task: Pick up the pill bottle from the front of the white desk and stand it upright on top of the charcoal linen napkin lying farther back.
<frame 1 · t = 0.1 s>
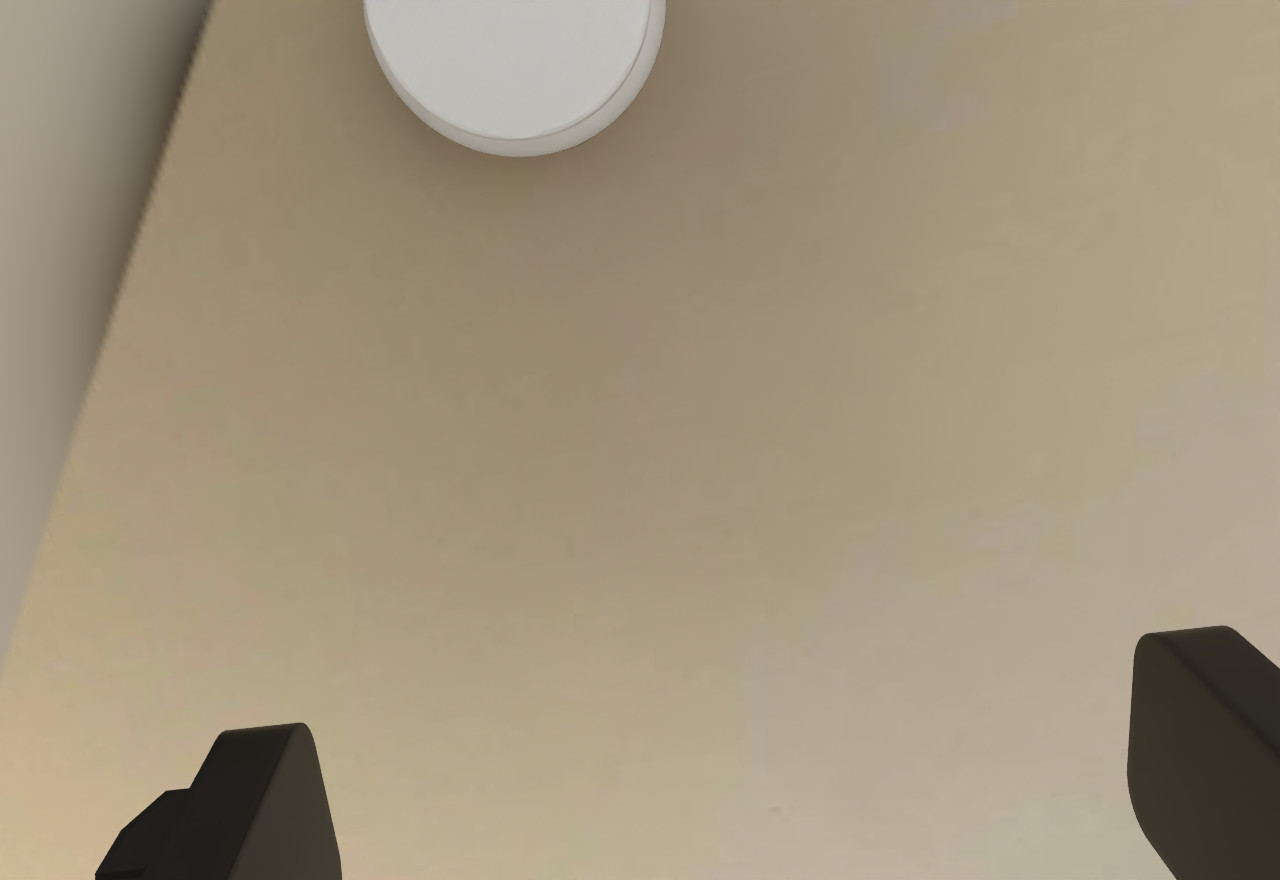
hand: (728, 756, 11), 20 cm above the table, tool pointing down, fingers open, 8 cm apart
pill bottle: (530, 18, 27), on the table
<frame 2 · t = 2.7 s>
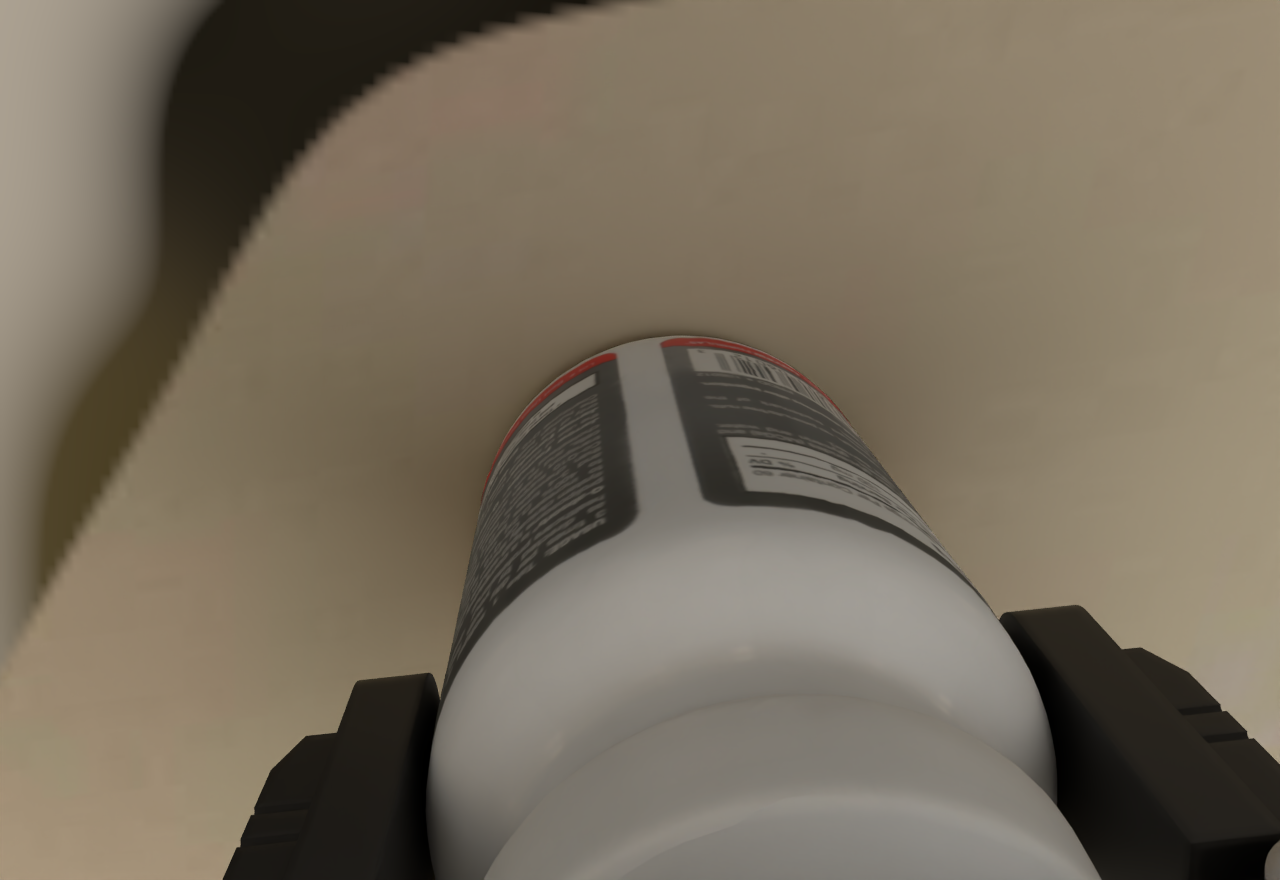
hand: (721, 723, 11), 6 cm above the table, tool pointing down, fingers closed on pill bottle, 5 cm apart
pill bottle: (676, 506, 17), on the table, touching gripper
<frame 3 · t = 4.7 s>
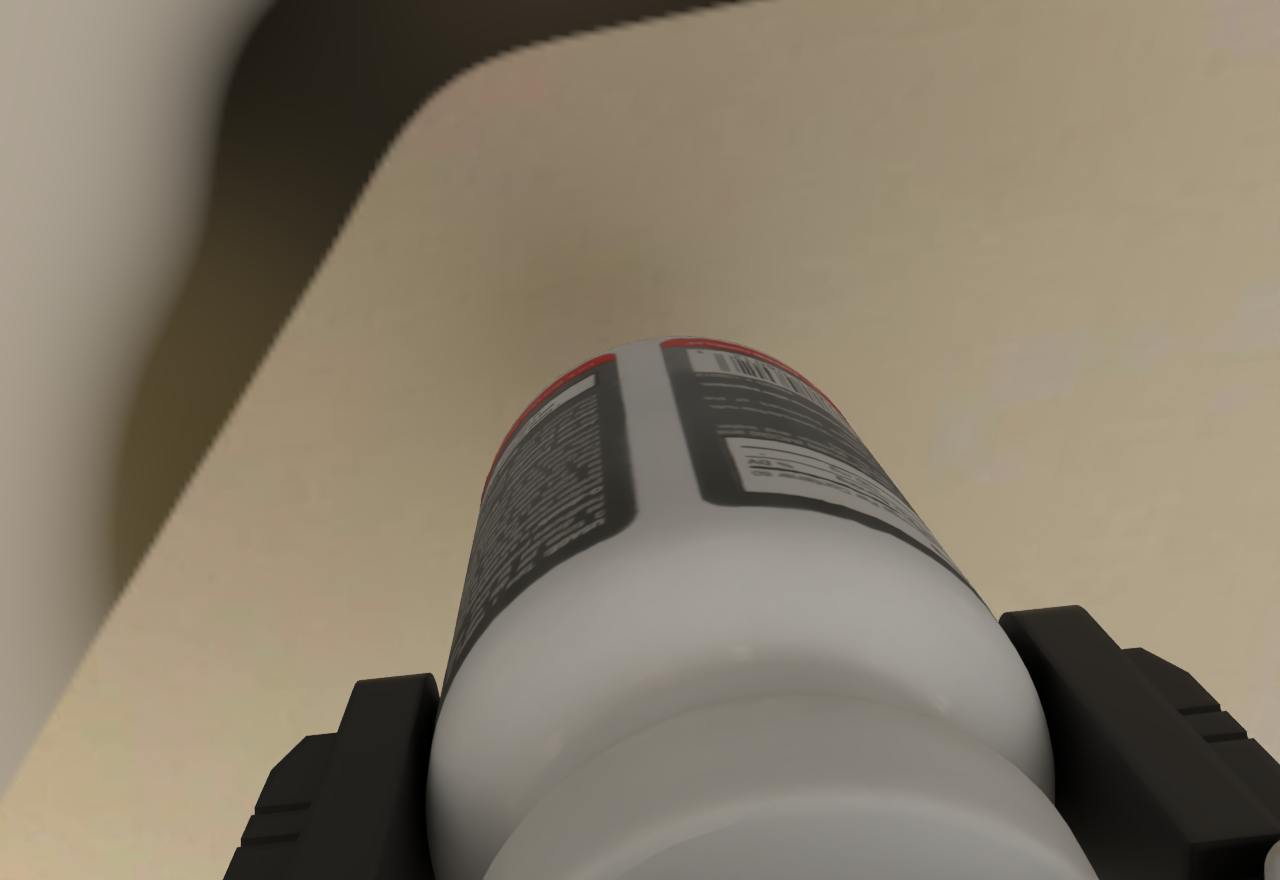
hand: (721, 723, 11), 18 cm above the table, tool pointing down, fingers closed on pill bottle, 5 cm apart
pill bottle: (675, 506, 17), point 12 cm above the table, touching gripper
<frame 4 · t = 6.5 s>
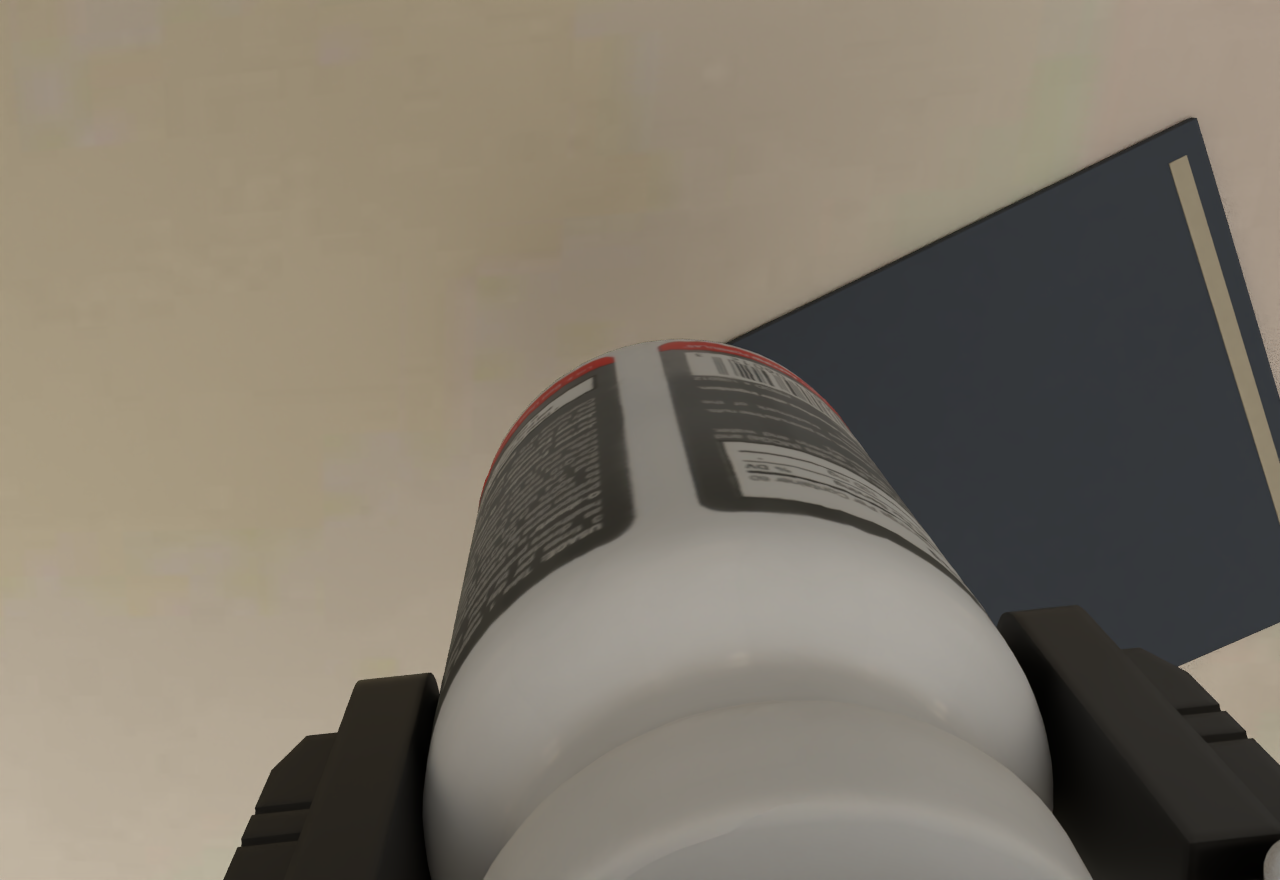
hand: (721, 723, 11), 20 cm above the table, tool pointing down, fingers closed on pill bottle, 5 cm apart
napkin: (1011, 491, 33), on the table
pill bottle: (673, 509, 17), point 14 cm above the table, touching gripper
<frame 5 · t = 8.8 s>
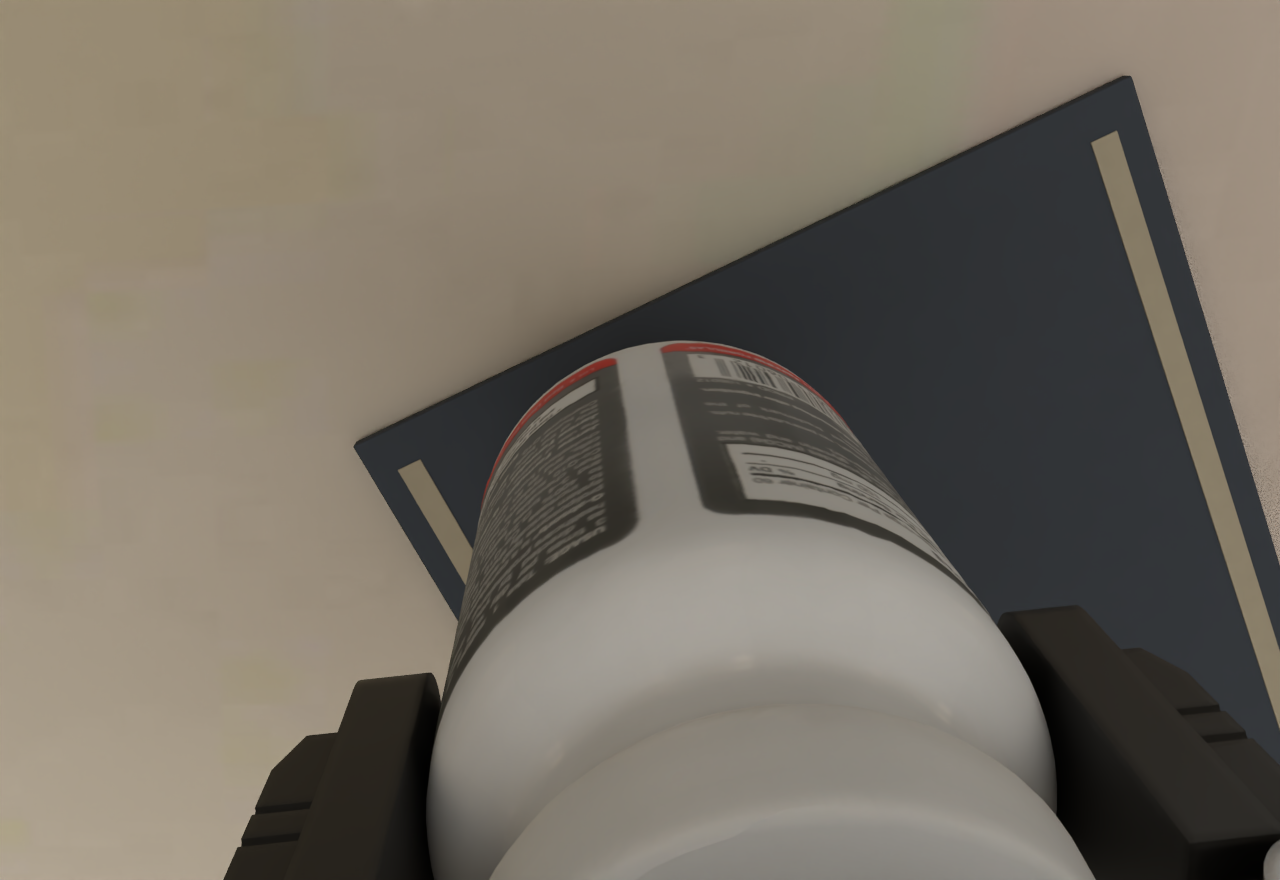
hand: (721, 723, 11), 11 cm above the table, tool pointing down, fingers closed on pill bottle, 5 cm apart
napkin: (877, 603, 23), on the table
pill bottle: (676, 511, 17), point 5 cm above the table, touching gripper
when the fingers open (6 cm above the table, at t = 10.6 s): pill bottle stays where it is, resting on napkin.
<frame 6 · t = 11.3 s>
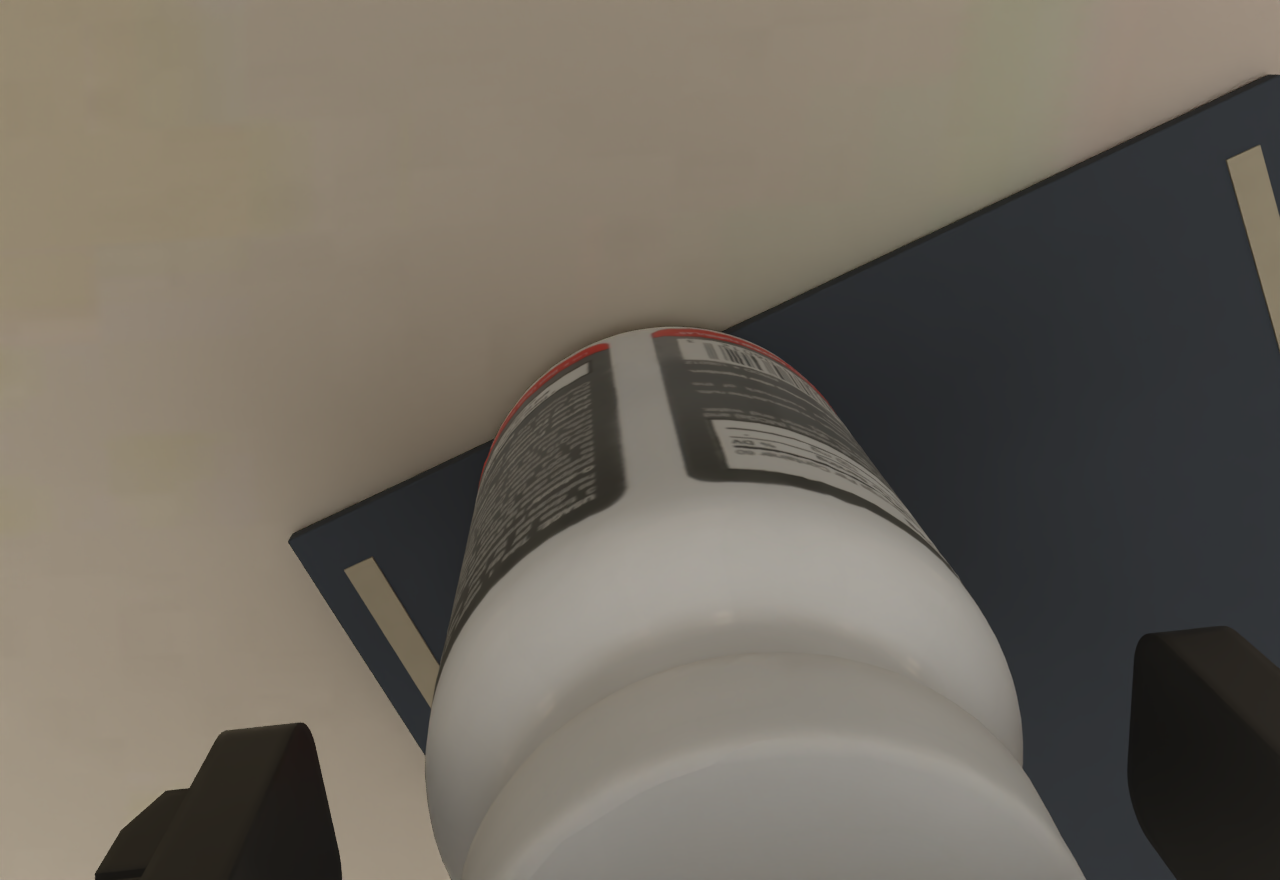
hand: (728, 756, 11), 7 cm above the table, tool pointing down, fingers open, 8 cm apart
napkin: (939, 724, 19), on the table
pill bottle: (667, 492, 17), resting on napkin
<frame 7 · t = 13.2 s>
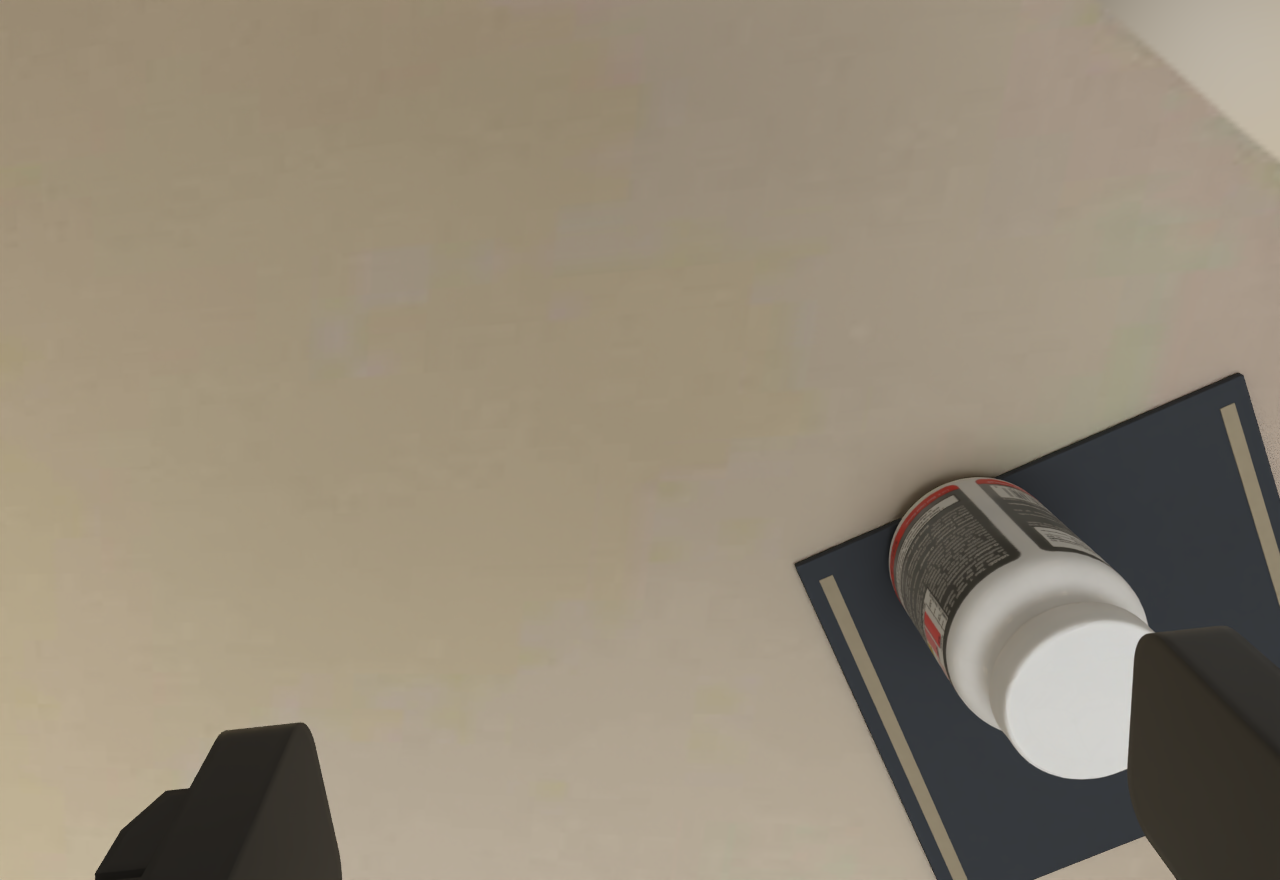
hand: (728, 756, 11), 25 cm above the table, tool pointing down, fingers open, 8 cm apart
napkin: (1082, 660, 39), on the table
pill bottle: (965, 547, 38), resting on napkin
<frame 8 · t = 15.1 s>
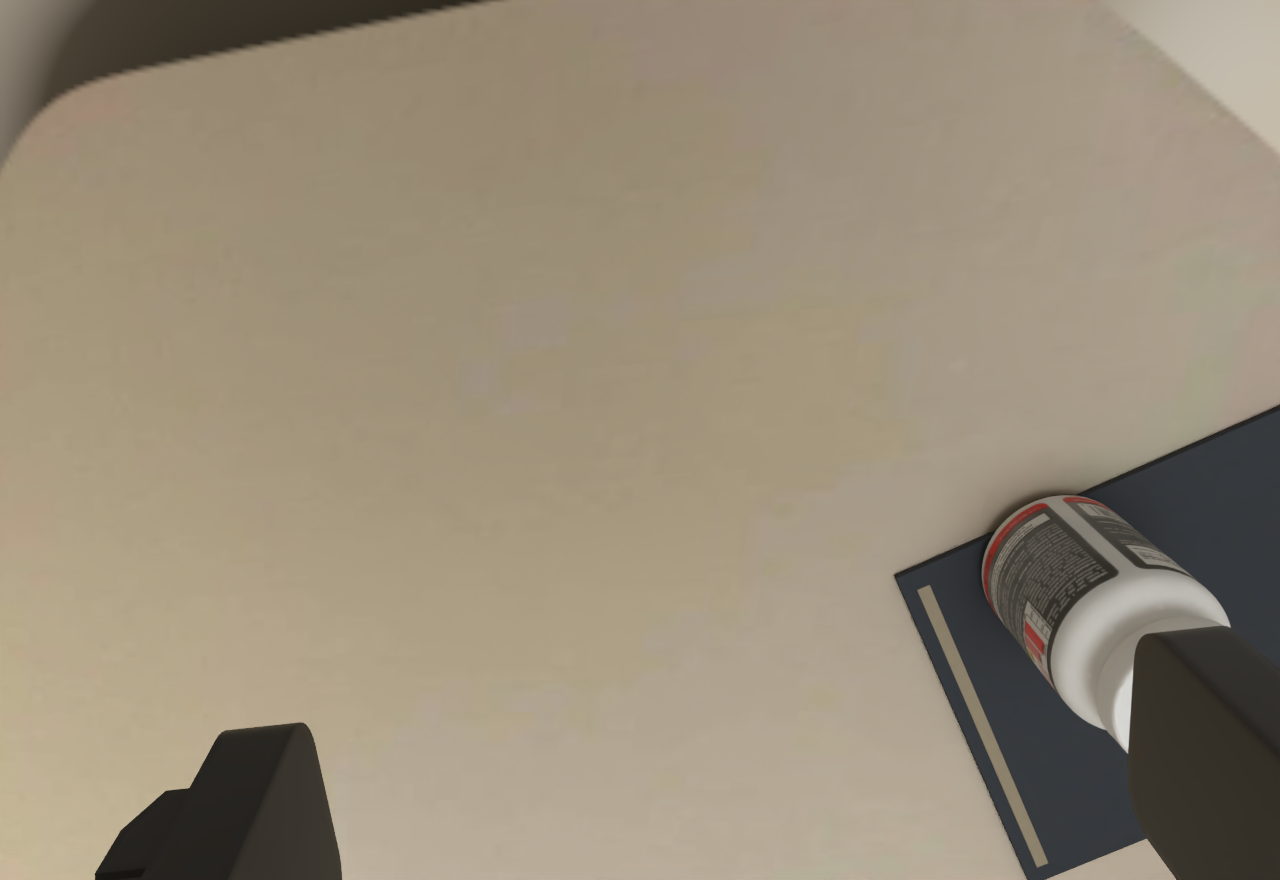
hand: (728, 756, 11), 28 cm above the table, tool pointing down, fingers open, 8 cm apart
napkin: (1153, 656, 43), on the table
pill bottle: (1050, 558, 42), resting on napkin
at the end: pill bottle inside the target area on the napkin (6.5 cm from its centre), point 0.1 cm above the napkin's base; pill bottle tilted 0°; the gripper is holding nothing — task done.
